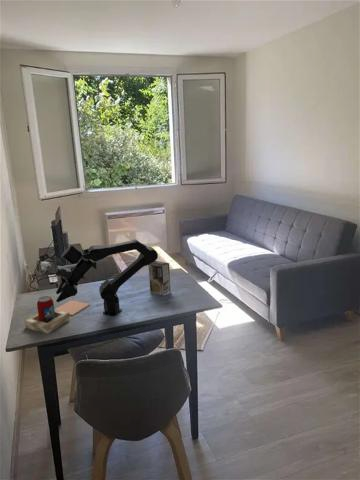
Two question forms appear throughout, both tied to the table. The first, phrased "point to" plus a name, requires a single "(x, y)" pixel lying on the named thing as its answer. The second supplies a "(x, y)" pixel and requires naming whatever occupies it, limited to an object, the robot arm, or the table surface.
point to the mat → (72, 307)
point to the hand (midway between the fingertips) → (56, 297)
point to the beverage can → (46, 309)
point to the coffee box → (159, 277)
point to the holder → (50, 326)
